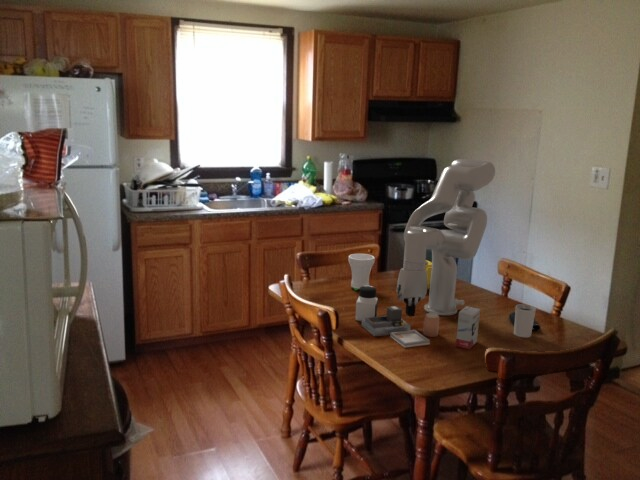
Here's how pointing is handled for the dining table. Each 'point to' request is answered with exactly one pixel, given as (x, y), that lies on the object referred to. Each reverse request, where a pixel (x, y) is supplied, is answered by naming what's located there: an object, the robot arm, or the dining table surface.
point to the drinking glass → (524, 320)
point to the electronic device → (512, 319)
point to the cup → (360, 269)
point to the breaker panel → (384, 325)
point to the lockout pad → (409, 338)
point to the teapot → (428, 273)
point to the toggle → (394, 313)
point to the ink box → (467, 327)
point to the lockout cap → (431, 324)
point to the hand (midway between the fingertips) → (410, 315)
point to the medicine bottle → (366, 303)
